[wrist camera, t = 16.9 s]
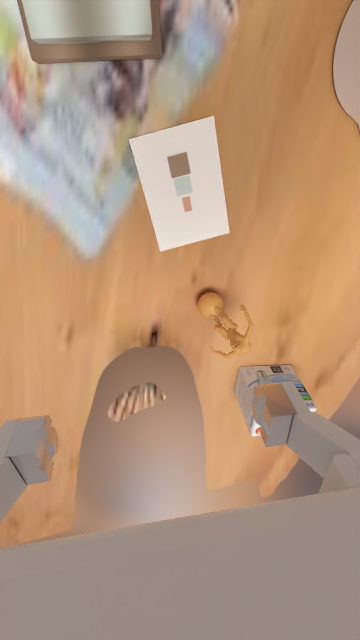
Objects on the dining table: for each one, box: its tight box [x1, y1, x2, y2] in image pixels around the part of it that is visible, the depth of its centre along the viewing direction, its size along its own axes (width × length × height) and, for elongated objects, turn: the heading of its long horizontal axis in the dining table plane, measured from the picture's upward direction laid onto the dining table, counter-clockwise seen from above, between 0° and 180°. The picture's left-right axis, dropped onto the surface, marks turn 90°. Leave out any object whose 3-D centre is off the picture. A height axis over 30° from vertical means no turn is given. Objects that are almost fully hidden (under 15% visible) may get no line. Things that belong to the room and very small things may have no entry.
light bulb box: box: [234, 365, 317, 436], centre depth 57 cm, size 11×7×11 cm, turn 87°
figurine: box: [198, 292, 253, 358], centre depth 45 cm, size 8×6×12 cm
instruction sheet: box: [129, 116, 230, 252], centre depth 39 cm, size 10×14×1 cm
